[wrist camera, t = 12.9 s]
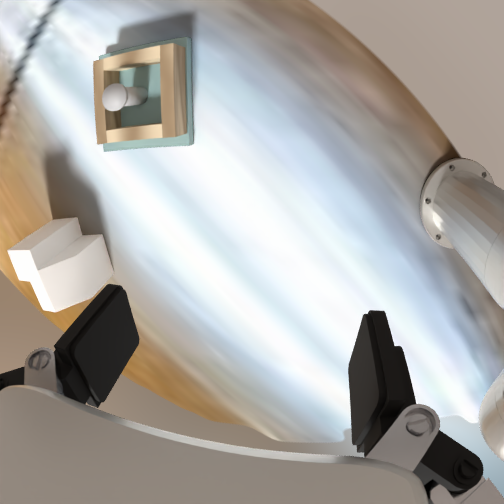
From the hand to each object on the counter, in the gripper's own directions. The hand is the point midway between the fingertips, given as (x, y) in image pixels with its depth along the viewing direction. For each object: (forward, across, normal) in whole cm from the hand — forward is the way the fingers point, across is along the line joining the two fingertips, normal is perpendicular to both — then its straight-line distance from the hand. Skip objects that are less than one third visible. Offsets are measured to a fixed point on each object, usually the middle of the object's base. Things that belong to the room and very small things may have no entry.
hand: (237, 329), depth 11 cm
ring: (+27, +17, -10) cm, 33 cm away
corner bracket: (+28, +34, +13) cm, 46 cm away
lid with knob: (+28, +18, -10) cm, 35 cm away
